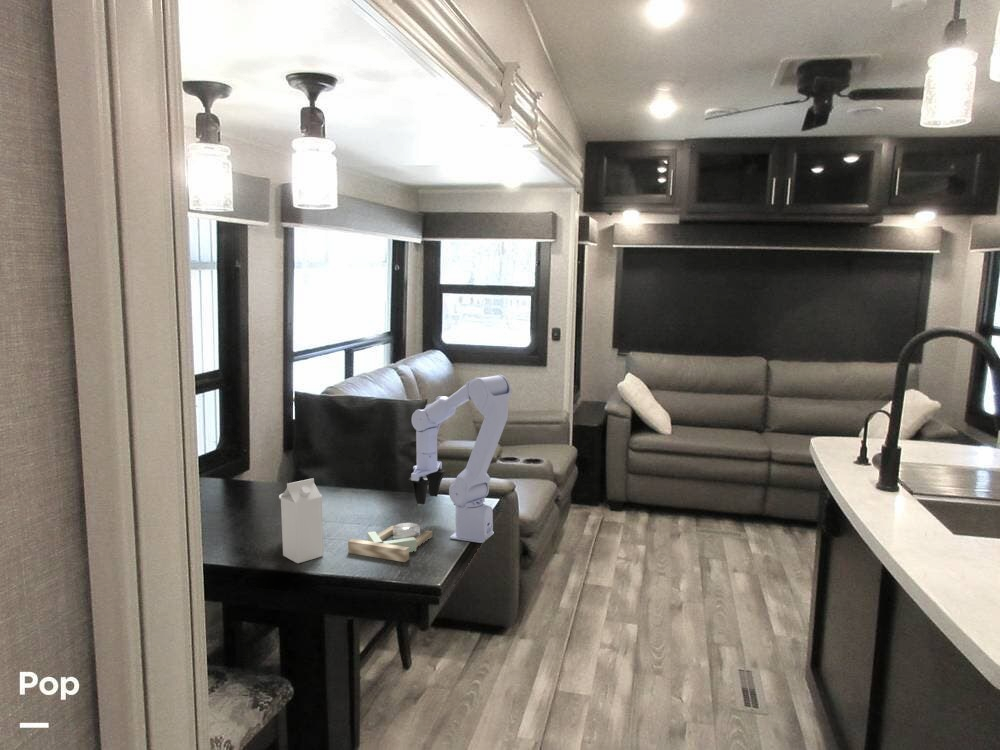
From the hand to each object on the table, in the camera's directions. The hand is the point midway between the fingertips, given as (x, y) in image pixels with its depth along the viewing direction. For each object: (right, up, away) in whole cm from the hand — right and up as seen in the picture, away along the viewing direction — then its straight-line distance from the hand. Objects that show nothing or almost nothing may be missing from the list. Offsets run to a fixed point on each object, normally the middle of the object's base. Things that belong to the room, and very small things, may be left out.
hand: (427, 499), depth 197 cm
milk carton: (-28, -10, -23) cm, 38 cm away
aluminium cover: (-4, -8, -10) cm, 14 cm away
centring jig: (-7, -9, -17) cm, 20 cm away
